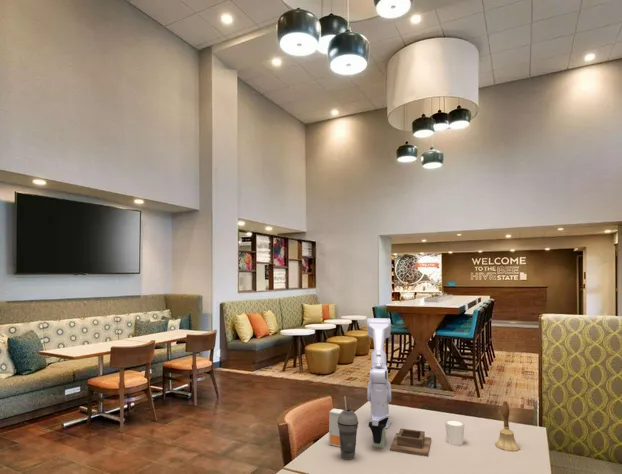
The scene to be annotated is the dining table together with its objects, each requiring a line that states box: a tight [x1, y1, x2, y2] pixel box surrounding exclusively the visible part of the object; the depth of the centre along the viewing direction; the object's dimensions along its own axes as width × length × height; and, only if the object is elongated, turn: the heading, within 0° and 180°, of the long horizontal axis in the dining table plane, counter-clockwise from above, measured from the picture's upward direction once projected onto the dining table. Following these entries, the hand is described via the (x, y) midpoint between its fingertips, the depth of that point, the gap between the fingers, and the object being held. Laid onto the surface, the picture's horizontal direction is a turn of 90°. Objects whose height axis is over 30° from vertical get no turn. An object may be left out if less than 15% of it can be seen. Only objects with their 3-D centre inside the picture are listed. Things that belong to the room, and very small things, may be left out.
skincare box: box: [328, 408, 344, 448], centre depth 154 cm, size 6×4×12 cm
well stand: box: [389, 428, 432, 457], centre depth 153 cm, size 15×13×4 cm
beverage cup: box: [337, 395, 359, 461], centre depth 144 cm, size 7×7×20 cm
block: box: [372, 427, 387, 449], centre depth 153 cm, size 4×4×6 cm
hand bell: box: [494, 400, 521, 452], centre depth 153 cm, size 8×8×16 cm
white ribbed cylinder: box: [444, 419, 465, 446], centre depth 156 cm, size 7×7×7 cm
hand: (379, 439), depth 153 cm, fingers open, 6 cm apart
